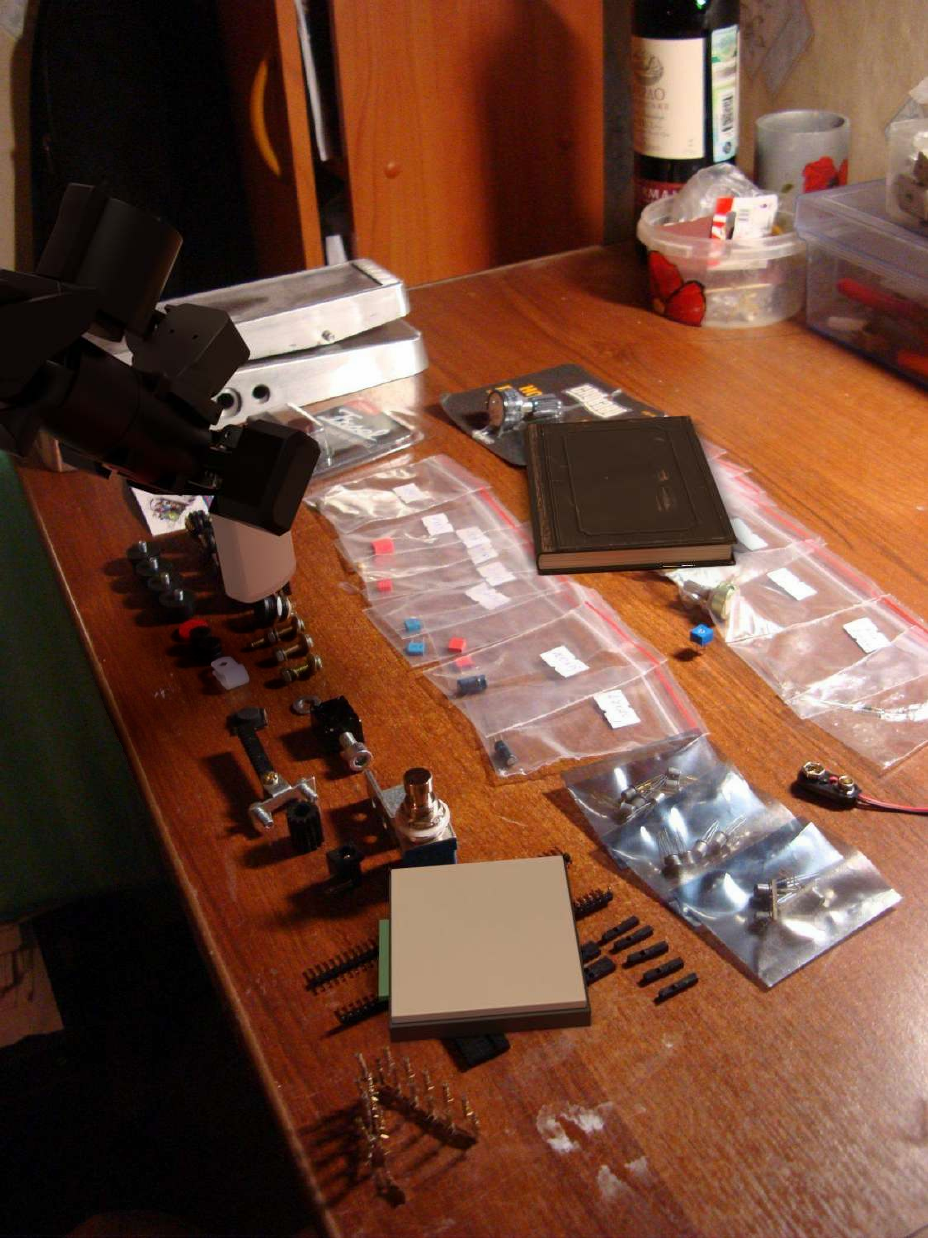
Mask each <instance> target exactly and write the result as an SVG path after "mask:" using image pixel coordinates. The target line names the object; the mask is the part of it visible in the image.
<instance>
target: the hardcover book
mask: <svg viewBox="0 0 928 1238" xmlns="http://www.w3.org/2000/svg"><path fill="white" fill-rule="evenodd" d="M523 445H524V455H525V465H526V475H527V485H528V494H529V495H528V496H529V503H530V504H529V505H530V515H531V523H532V534H533V543H534V555H535V564H536V570H537V571H538V572H539V573H540V574H542V575H546V576H547V575H563V574H565V575H566V574H580V573H582V574H583V573H598V572H599V573H600V572H619V571H636V570H638V571H639V570H657V569H661V568H660V567H663V566H682V565H693V566H694V565H695V566H696V567H707V566H706V565H715V566H728V565H727V564H733V565H736V564H737V561H736V558H735V555H734V552H733V549H732V545H738V544H739V543H738V542H739V541H738V538H737V536H736V533H735V530H734V528H733V525H732V522H731V520H730V517H729V514H728V512H727V509H726V506H725V504H724V502H723V498H722V496H721V493H720V491H719V487H718V486H717V482H716V480H715V478H714V475H713V472H712V469H711V467H710V464H709V461H708V458H707V456H706V454H705V451H704V448H703V446H702V443H701V440H700V438H699V435H698V433H697V430H696V427H695V425H694V421H693V419H692V417H691V415H690V414H687V415H686V414H685V415H671V416H669V415H668V416H654V417H637V418H619V419H618V418H617V419H604V420H603V419H602V420H601V419H600V420H585V421H567V422H550V423H535V424H534V423H533V424H532V423H531V424H528V425H527V426H525V428H523ZM722 564H723V565H722ZM702 565H703V566H702Z"/></svg>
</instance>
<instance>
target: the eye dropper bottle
mask: <svg viewBox="0 0 928 1238" xmlns="http://www.w3.org/2000/svg"><path fill="white" fill-rule="evenodd" d="M222 448H224V449H225V447H223V446H222ZM212 500H213V498H211V502H212ZM211 502H210V504H209V506H210V505H211ZM209 514H210V520H211V525H212V530H213V535H214V540H215V546H216V550H217V555H218V561H219V564H220V565H219V566H220V570H221V574H222V580H223V584H224V589H225V593H226V595H227V596H228V597H229V598H231V599H233V600H235V601H239V602H242V603H245V604H252V603H256V602H259V601H261V600H263V599H265V598H268V597H269V596H271V595H273V594H275V593H276V592H278V591H280V589H282V588H283V587H285V586H286V585H287V584H288V582H290V581H291V579H292V578H293V576H294V575H295V573H296V570H297V560H296V555H295V549H294V548H295V547H294V543H293V537H292V536H293V535H292V531H291V530H292V529H290V531H288V532H287V533H285V534H283V535H282V536H280V537H279V536H276V535H273V534H270V533H267V532H264V531H261V530H258V529H255V528H252V527H249V526H246V525H244V524H241V523H239V522H235V521H232V520H229V519H226V518H223V517H220V516H217V515H214V514H211V513H209Z"/></svg>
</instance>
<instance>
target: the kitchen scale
mask: <svg viewBox="0 0 928 1238" xmlns="http://www.w3.org/2000/svg"><path fill="white" fill-rule="evenodd" d="M568 871H569V870H568V866H567V861H566V860H565V859H564V857H563V855H551V856H540V857H539V856H538V857H526V858H514V859H513V858H512V859H503V860H502V859H501V860H490V861H476V862H466V863H453V864H441V865H427V866H416V867H406V868H405V867H403V868H393V869H391V871H390V874H389V875H388V918H385V919H379V922H378V923H379V924H378V1000H379V1001H380V1002H385V1001H388V1031H389V1038H390V1042H391V1043H403V1042H415V1041H416V1042H417V1041H427V1040H439V1039H451V1038H463V1037H464V1038H465V1037H474V1036H486V1035H487V1036H489V1035H498V1034H499V1035H501V1034H510V1033H522V1032H523V1033H525V1032H534V1031H547V1030H557V1029H560V1030H561V1029H571V1028H581V1027H582V1028H583V1027H584V1028H585V1027H590V1026H591V1025H592V1009H591V1002H590V997H589V989H588V985H587V980H586V979H587V978H586V974H585V968H584V962H583V954H582V949H581V943H580V937H579V931H578V926H577V925H578V924H577V919H576V913H575V908H574V901H573V895H572V890H571V884H570V877H569V872H568Z"/></svg>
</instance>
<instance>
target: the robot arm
mask: <svg viewBox="0 0 928 1238" xmlns="http://www.w3.org/2000/svg"><path fill="white" fill-rule="evenodd" d="M58 210H59V211H58V217H57V220H56V222H55V225H54V227H53V229H52V232H51V234H50V236H49V239H48V241H47V243H46V246H45V249H44V251H43V253H42V256H41V258H40V260H39V263H38V264H37V268H36V270H35V272H34V273H35V274H29V273H25V272H21V271H17V270H11V269H7V268H0V452H2V453H7V454H9V455H11V456H15V457H19V458H22V459H24V458H27V457H28V456H29V455H30V454H31V451H32V448H33V446H34V444H35V441H36V439H37V437H38V435H39V433H41V434H44V435H45V436H47V437H49V438H52V439H54V440H56V441H58V443H57V446H58V450H59V453H60V456H61V457H60V458H61V460H62V463H63V464H66V465H68V466H70V467H72V468H74V469H76V470H79V471H81V472H83V473H86V474H89V475H92V476H94V477H97V478H101V479H104V480H107V481H110V479H111V477H112V475H113V474H112V473H113V470H114V471H116V475H118V476H121V477H122V478H124V479H125V483H126V485H127V486H128V487H130V488H133V489H135V490H137V491H138V490H139V491H140V492H141V491H142V492H145V493H148V494H151V495H153V496H177V497H181V498H182V497H183V496H189V497H190V496H193V497H194V496H195V497H196V496H197V497H212V499H213V500H212V499H211V501H212V502H210V504H211V505H210V504H209V508H208V510H207V513H208V514H210V513H211V514H214V515H217V516H220V517H223V518H226V519H229V520H232V521H235V522H239V523H241V524H244V525H246V526H249V527H252V528H255V529H258V530H261V531H264V532H267V533H270V534H273V535H276V536H279V537H280V536H282V535H283V534H285V533H287V532H288V531H290V530H292V526H293V524H294V521H295V519H296V516H297V515H298V512H299V509H300V507H301V504H302V501H303V499H304V496H305V493H306V491H307V489H308V487H309V484H310V481H311V479H312V477H313V473H314V471H315V469H316V467H317V464H318V461H319V458H320V455H321V454H322V451H321V447H320V445H319V442H318V441H317V439H315V438H313V437H311V436H310V435H309V434H307V433H306V432H305V431H302V430H301V429H298V428H295V427H291V426H287V425H283V424H279V423H276V422H271V421H268V420H264V419H260V418H257V419H255V420H253V421H252V422H250V423H248V424H242V426H241V425H237V424H234V423H228V424H226V425H225V426H223V427H222V428H221V430H215V429H212V428H211V426H214V427H216V426H217V425H218V424H219V421H220V419H221V417H222V414H223V412H224V409H225V407H224V406H223V405H221V404H220V403H218V402H217V401H215V400H213V398H215V397H217V396H218V395H219V394H220V393H221V392H222V391H223V390H224V388H225V386H226V385H227V384H228V383H229V382H230V380H231V379H232V377H233V376H234V375H235V374H236V372H237V371H238V370H239V369H240V367H242V366H245V364H246V363H247V362H248V360H249V359H250V357H251V349H250V348H249V347H248V344H247V343H246V341H245V340H244V338H243V336H242V335H241V333H240V331H239V329H238V328H237V326H236V325H235V323H234V321H233V320H232V318H231V316H230V315H229V313H228V312H227V311H225V310H222V309H219V308H214V307H210V306H205V305H199V304H194V303H189V302H184V303H180V304H178V305H176V304H175V305H173V304H170V303H166V304H165V306H163V310H164V311H165V313H164V312H163V311H161V310H159V309H156V308H157V305H158V303H159V300H160V299H161V296H162V293H163V291H164V288H165V285H166V283H167V281H168V279H169V276H170V274H171V272H172V269H173V266H174V264H175V262H176V259H177V256H178V254H179V252H180V250H181V247H182V245H183V243H184V239H183V237H182V235H181V234H180V233H179V231H178V230H177V229H176V228H175V227H174V226H173V225H171V224H170V223H169V222H168V221H166V220H165V219H164V218H162V217H160V216H155V215H150V214H148V213H147V212H145V211H143V210H141V209H140V208H138V207H136V206H133V205H131V204H129V203H127V202H125V201H122V200H119V199H117V198H114V197H112V196H109V195H108V194H106V193H105V192H104V191H103V190H101V189H100V188H98V187H97V186H96V185H89V184H82V183H75V182H70V183H69V184H68V185H67V187H66V190H65V192H64V194H63V197H62V199H61V202H60V206H59V209H58ZM86 333H87V334H89V335H91V336H93V337H96V338H99V339H101V340H104V341H108V342H111V343H116V344H120V343H122V341H123V339H124V340H125V344H126V347H127V349H128V350H129V352H130V354H132V356H131V361H130V362H131V365H130V364H129V363H127V362H125V361H123V359H122V360H121V359H120V358H118V357H117V356H115V355H114V354H112V353H110V352H109V351H107V350H105V349H104V348H103V347H101V346H99V345H97V344H96V343H94V342H92V341H90V340H89V339H87V338H86V337H84V335H85V334H86ZM223 447H225V449H224V448H223ZM103 464H104V465H106V466H108V467H105V466H103ZM109 468H110V469H109ZM211 514H210V515H211Z"/></svg>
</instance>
